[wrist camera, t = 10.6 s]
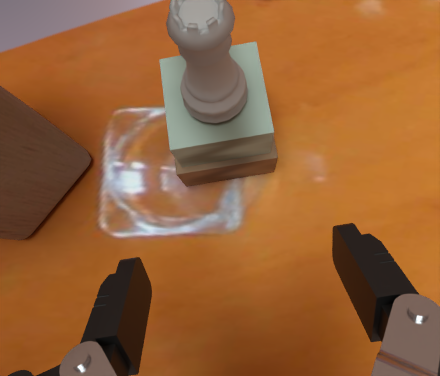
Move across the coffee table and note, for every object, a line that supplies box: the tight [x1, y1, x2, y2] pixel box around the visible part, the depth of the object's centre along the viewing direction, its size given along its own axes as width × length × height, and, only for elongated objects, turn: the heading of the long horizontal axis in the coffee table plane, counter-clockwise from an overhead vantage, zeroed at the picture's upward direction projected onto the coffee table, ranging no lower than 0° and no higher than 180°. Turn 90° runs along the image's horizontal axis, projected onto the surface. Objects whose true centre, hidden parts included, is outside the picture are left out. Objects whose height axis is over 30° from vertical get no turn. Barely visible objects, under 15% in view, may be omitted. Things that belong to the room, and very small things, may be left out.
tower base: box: [160, 42, 278, 186], centre depth 26 cm, size 8×8×8 cm
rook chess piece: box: [166, 0, 248, 123], centre depth 18 cm, size 4×4×8 cm
